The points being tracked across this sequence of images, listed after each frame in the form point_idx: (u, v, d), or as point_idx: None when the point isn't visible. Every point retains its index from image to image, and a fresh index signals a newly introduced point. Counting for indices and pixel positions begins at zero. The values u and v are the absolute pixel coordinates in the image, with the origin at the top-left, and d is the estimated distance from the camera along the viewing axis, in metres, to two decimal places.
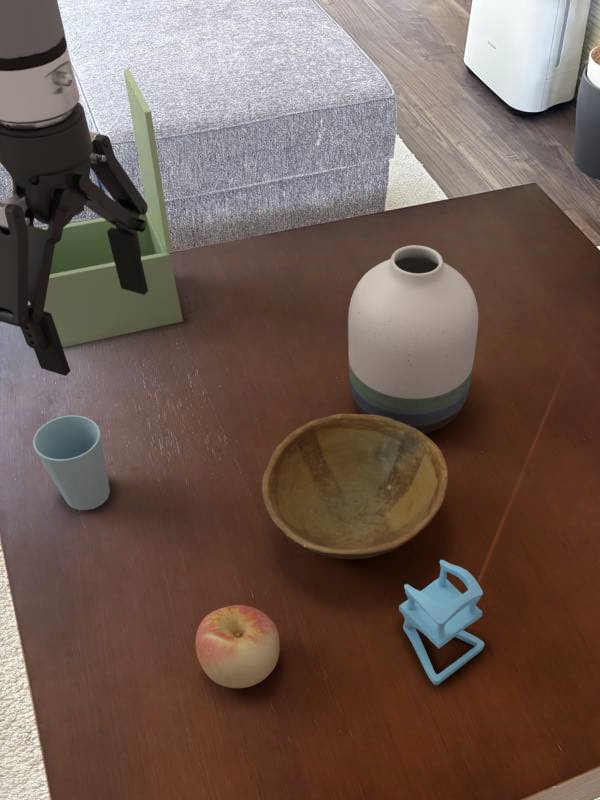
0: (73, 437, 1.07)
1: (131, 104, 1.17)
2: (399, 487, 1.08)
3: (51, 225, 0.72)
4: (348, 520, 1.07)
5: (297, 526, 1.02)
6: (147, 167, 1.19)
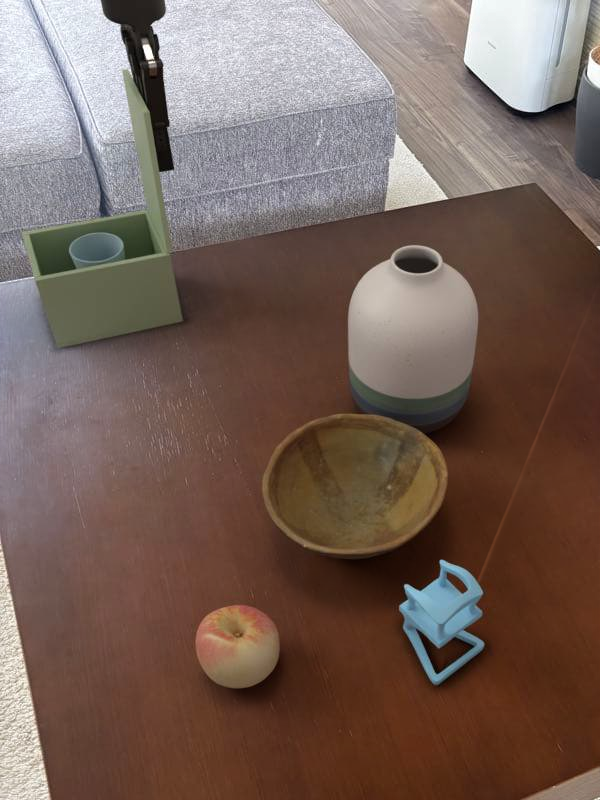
0: (101, 253, 1.30)
1: (130, 104, 1.17)
2: (399, 487, 1.08)
3: None
4: (348, 520, 1.07)
5: (297, 526, 1.02)
6: (146, 167, 1.19)
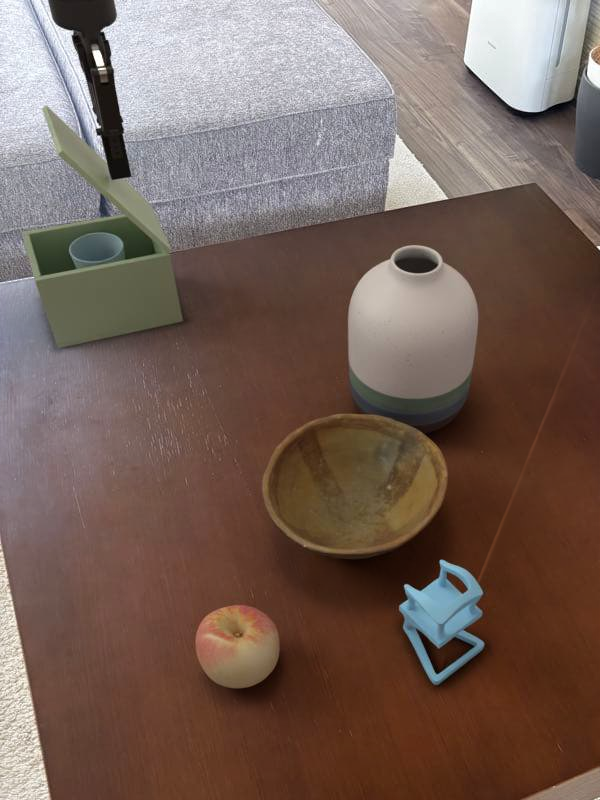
0: (101, 253, 1.30)
1: None
2: (399, 487, 1.08)
3: None
4: (348, 520, 1.07)
5: (297, 526, 1.02)
6: None
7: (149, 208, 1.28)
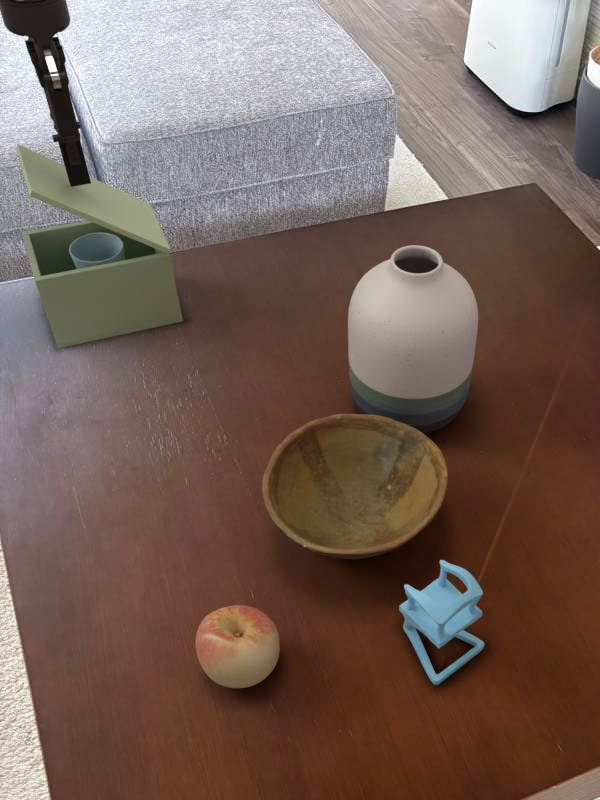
0: (101, 253, 1.30)
1: None
2: (399, 487, 1.08)
3: None
4: (348, 520, 1.07)
5: (297, 526, 1.02)
6: None
7: (147, 210, 1.28)
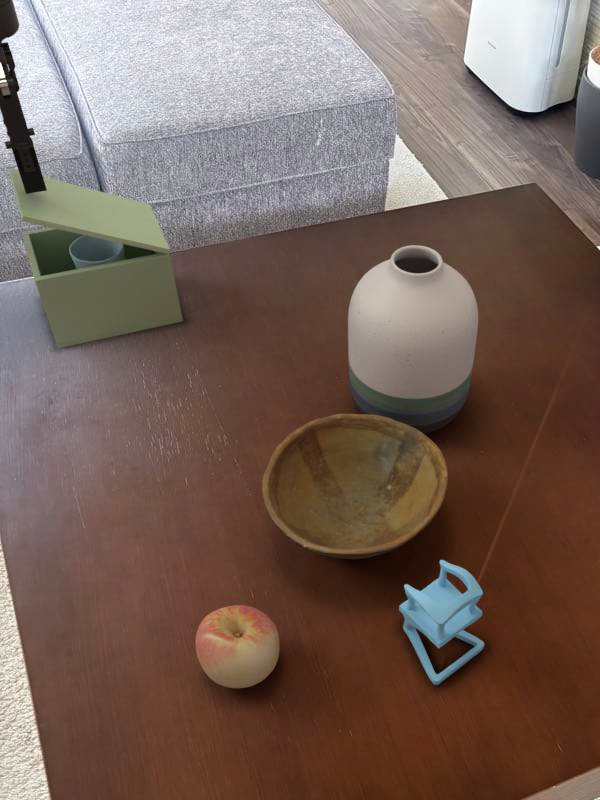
0: (101, 253, 1.30)
1: None
2: (399, 487, 1.08)
3: None
4: (348, 520, 1.07)
5: (297, 526, 1.02)
6: None
7: (146, 211, 1.28)
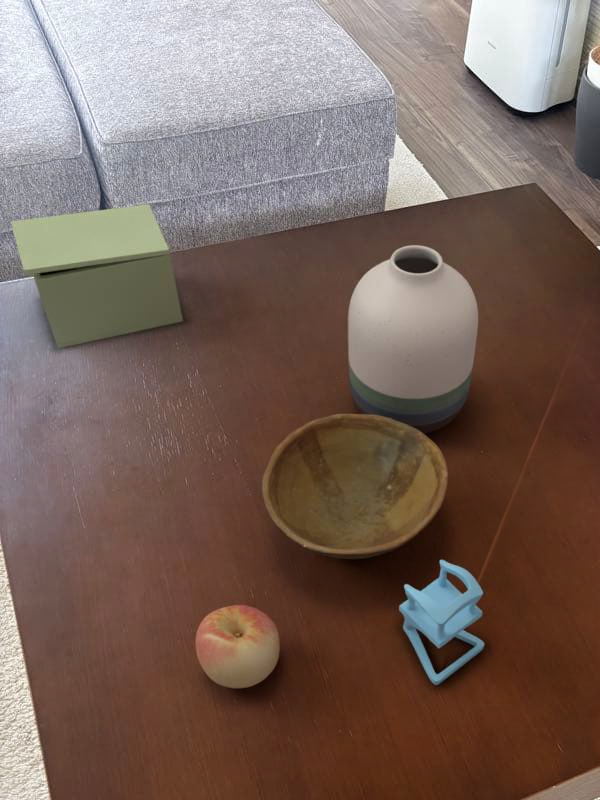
0: None
1: None
2: (399, 487, 1.08)
3: None
4: (348, 520, 1.07)
5: (297, 526, 1.02)
6: None
7: (144, 214, 1.29)
